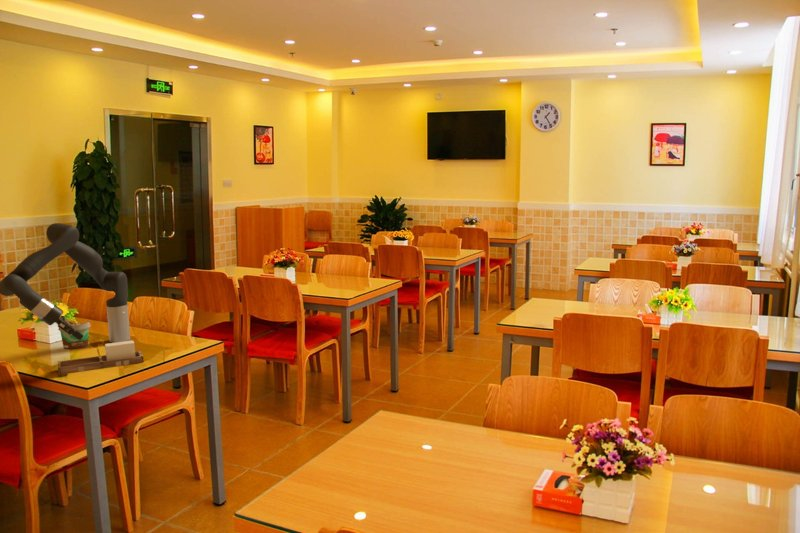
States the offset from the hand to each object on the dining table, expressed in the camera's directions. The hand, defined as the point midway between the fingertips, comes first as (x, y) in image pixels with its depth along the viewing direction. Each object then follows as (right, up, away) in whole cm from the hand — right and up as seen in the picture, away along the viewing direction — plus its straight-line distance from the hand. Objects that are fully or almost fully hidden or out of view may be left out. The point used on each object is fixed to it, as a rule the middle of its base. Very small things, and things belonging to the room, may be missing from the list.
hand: (81, 336), depth 279 cm
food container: (-1, -5, 0) cm, 5 cm away
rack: (+6, -13, +5) cm, 15 cm away
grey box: (+13, -12, +8) cm, 19 cm away
